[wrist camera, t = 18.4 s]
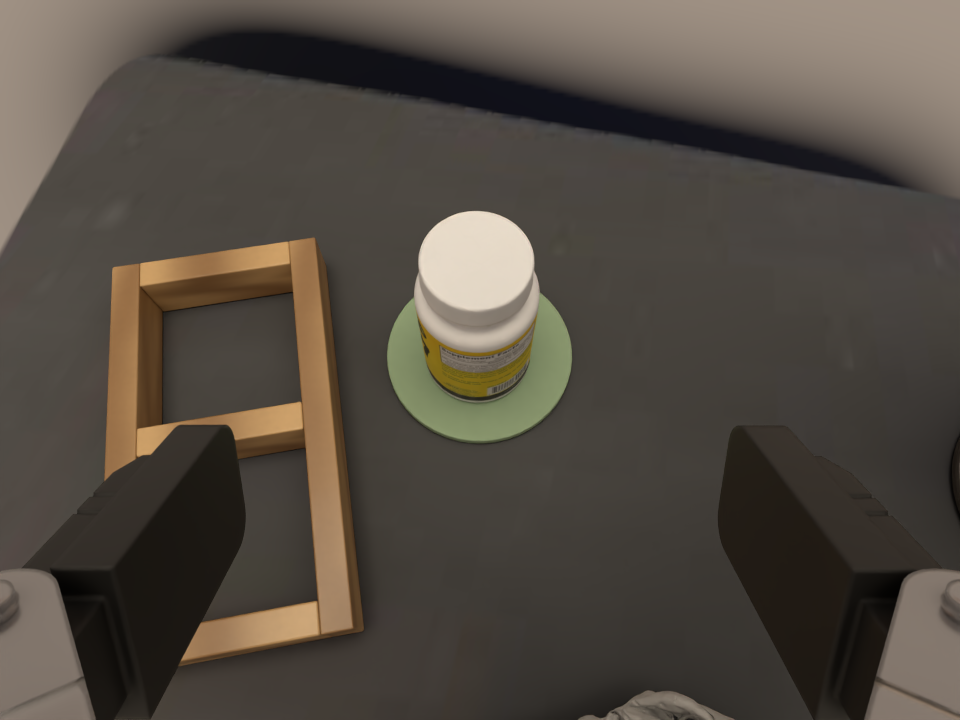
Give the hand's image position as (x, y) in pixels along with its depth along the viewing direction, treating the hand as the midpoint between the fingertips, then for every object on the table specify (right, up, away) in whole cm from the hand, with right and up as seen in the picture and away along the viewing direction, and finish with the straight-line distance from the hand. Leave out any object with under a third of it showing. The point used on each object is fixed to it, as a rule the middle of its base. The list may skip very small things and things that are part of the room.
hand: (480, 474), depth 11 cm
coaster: (0, +2, +20) cm, 20 cm away
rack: (-10, -2, +19) cm, 21 cm away
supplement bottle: (0, +2, +20) cm, 20 cm away
